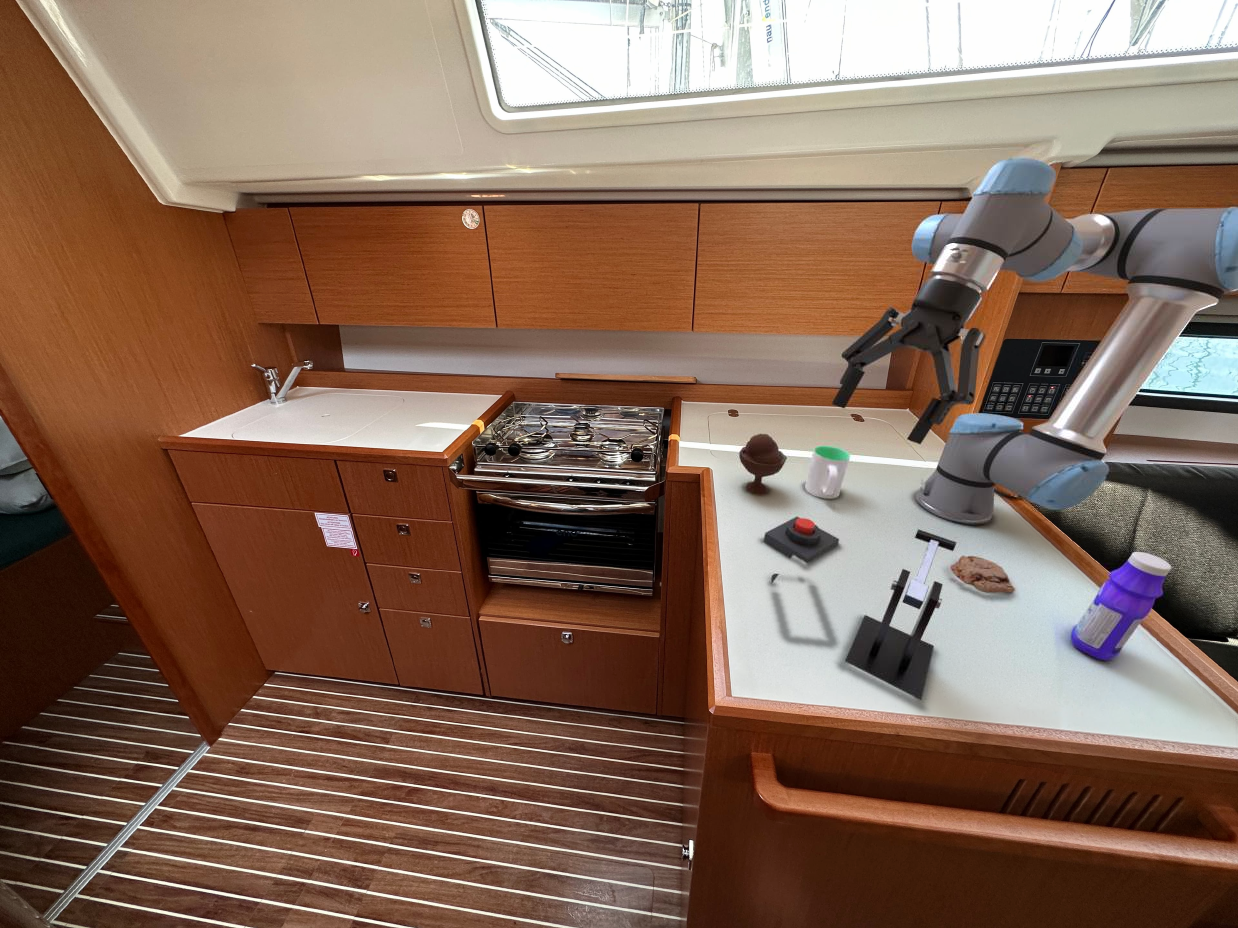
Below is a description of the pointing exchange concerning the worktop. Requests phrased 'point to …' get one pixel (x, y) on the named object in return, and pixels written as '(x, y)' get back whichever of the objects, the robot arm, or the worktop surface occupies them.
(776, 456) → the ice cream bowl
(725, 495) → the worktop surface
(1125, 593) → the bottle
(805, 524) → the stop button
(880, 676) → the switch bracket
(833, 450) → the mug
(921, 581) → the switch lever
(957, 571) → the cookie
